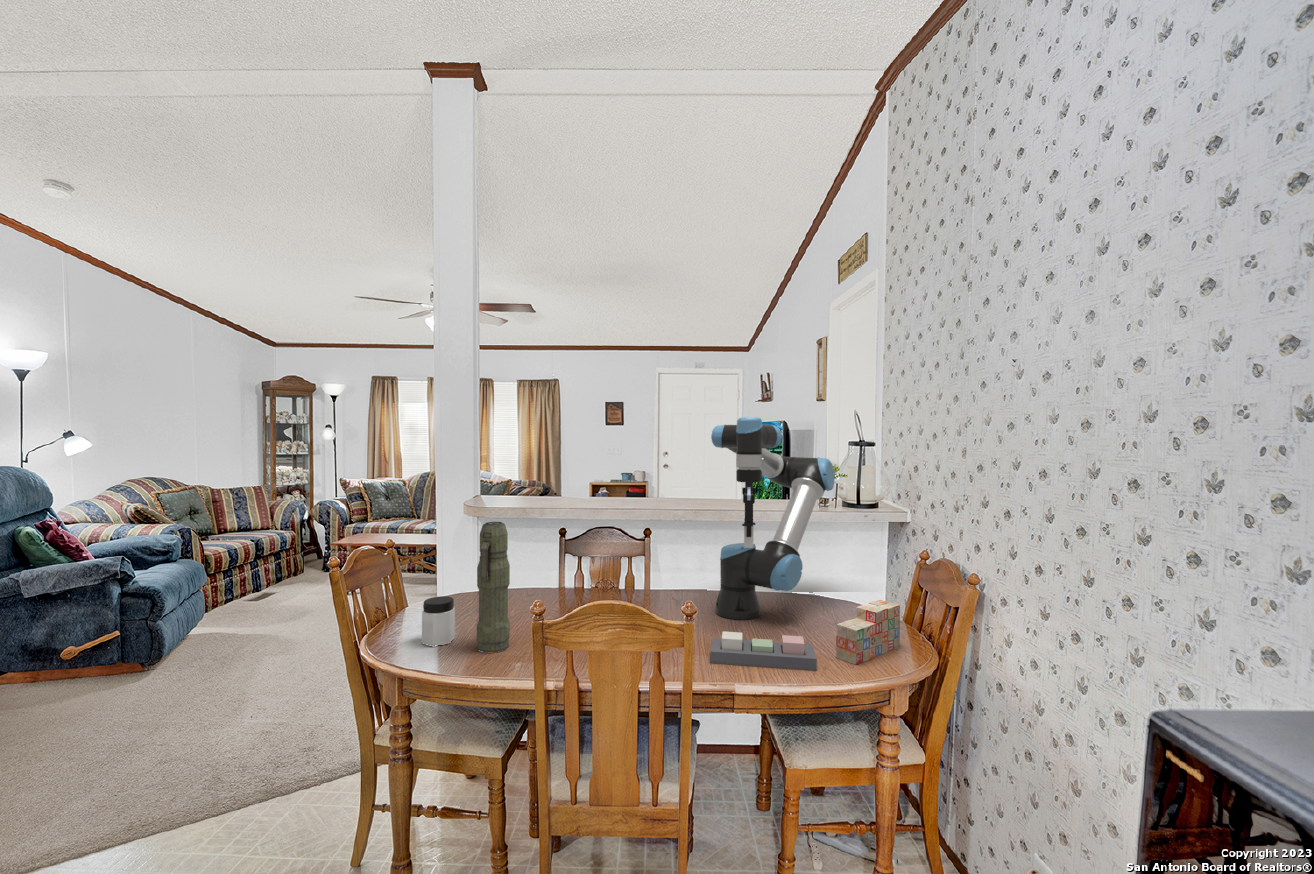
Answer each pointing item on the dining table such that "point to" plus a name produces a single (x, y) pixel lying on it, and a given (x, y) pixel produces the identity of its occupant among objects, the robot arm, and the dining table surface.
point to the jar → (438, 620)
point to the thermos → (493, 588)
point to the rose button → (792, 645)
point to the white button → (732, 641)
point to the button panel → (763, 656)
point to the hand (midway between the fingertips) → (748, 547)
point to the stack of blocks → (869, 632)
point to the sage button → (762, 645)
